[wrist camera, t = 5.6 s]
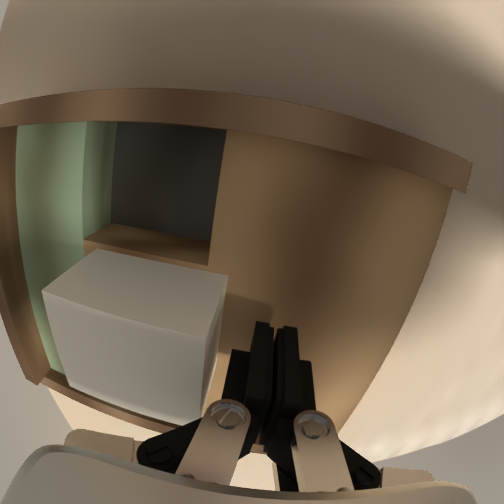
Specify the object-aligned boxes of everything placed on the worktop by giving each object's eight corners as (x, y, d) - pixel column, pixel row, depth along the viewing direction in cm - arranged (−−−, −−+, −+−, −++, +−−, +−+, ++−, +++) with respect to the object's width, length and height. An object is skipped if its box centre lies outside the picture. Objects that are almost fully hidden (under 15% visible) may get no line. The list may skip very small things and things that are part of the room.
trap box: (425, 154, 12) (488, 166, 7) (324, 414, 19) (329, 470, 14) (43, 105, 12) (-19, 107, 7) (62, 350, 19) (31, 389, 14)
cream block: (228, 275, 11) (206, 337, 8) (216, 364, 13) (198, 429, 10) (97, 248, 12) (41, 290, 8) (106, 335, 13) (69, 386, 10)
